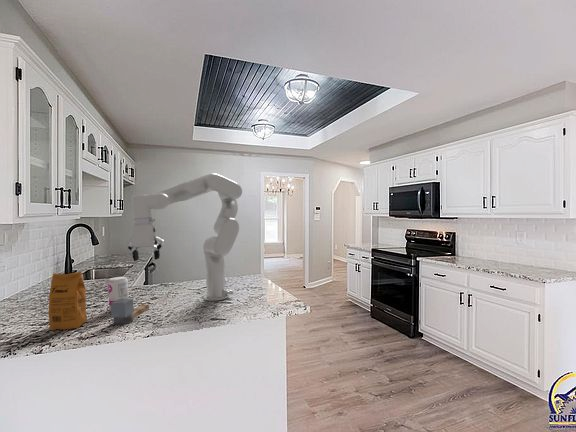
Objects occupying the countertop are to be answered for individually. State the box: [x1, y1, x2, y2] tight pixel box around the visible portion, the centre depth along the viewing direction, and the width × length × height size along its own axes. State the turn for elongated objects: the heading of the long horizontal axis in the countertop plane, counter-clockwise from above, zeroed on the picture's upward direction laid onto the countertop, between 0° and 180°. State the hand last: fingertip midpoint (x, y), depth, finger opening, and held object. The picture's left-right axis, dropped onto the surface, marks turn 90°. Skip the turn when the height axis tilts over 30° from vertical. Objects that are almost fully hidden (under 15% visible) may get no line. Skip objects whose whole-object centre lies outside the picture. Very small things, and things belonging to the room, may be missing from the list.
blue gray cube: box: [110, 298, 135, 319], centre depth 130 cm, size 6×6×6 cm
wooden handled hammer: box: [113, 304, 150, 326], centre depth 137 cm, size 20×7×7 cm, turn 175°
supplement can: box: [107, 276, 130, 312], centre depth 147 cm, size 8×8×15 cm
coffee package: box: [48, 271, 88, 331], centre depth 128 cm, size 10×12×22 cm
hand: (146, 259), depth 142 cm, fingers open, 9 cm apart
